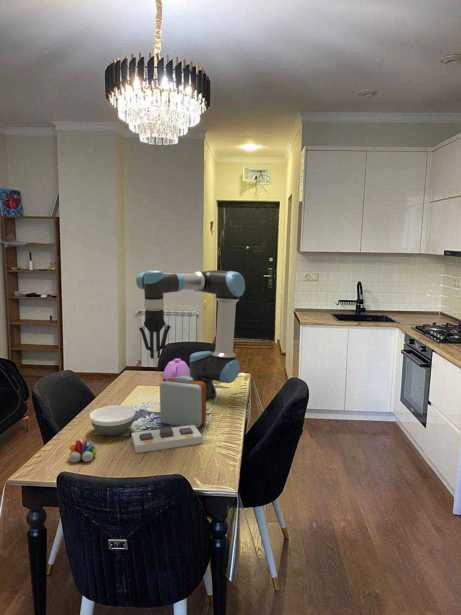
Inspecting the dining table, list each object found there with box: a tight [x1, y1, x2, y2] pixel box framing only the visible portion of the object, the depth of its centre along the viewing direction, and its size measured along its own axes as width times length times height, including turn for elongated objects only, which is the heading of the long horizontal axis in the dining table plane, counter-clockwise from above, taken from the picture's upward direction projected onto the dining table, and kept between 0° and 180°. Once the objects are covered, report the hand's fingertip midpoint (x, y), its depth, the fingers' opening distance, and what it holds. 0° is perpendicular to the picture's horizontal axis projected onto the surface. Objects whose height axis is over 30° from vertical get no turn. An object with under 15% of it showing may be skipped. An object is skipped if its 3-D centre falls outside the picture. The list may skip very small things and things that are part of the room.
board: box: [131, 425, 203, 454], centre depth 186 cm, size 26×12×3 cm, turn 110°
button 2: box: [180, 427, 193, 435], centre depth 188 cm, size 4×4×3 cm
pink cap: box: [162, 358, 190, 381], centre depth 267 cm, size 22×16×12 cm
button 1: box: [140, 433, 153, 441], centre depth 183 cm, size 4×4×3 cm
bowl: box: [89, 404, 137, 437], centre depth 195 cm, size 19×19×8 cm
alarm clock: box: [159, 376, 207, 429], centre depth 204 cm, size 18×9×21 cm, turn 71°
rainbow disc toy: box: [69, 438, 97, 464], centre depth 171 cm, size 8×10×7 cm
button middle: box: [159, 426, 173, 438], centre depth 186 cm, size 4×4×3 cm
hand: (155, 365), depth 191 cm, fingers closed
